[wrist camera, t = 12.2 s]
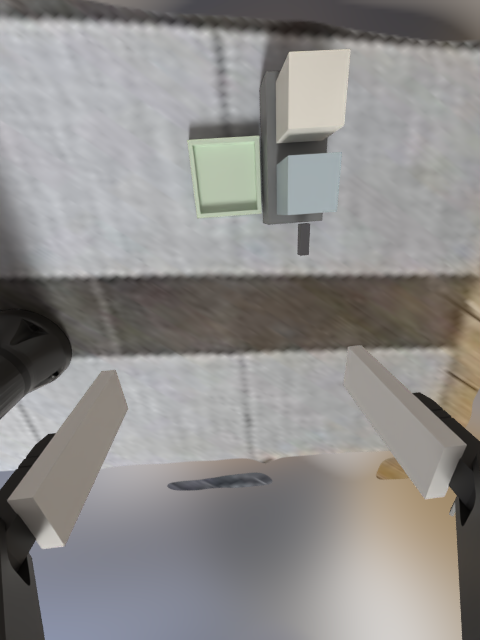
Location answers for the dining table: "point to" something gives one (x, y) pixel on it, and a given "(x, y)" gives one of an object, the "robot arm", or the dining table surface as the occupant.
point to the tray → (226, 176)
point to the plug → (311, 95)
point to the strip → (278, 154)
